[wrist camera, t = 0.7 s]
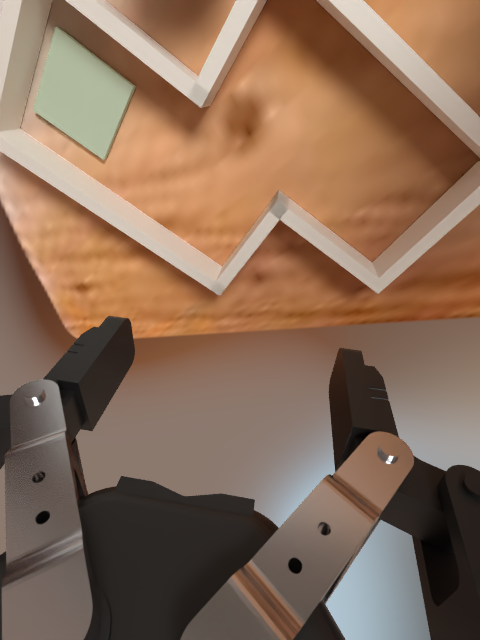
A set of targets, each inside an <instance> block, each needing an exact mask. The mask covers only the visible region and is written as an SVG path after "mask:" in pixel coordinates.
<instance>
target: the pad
mask: <svg viewBox="0 0 480 640" xmlns="http://www.w3.org/2000/svg"><path fill="white" fill-rule="evenodd" d="M135 88H136V86H135V85H133V84H132V83H131V82H129V81H128V80H127V79H126V78H124V77H123V76H122V75H120V74H119V73H118V72H117V71H115V70H114V69H113V68H111V67H110V66H109V65H107V64H106V63H105V62H104V61H102V60H101V59H100V58H98V57H97V56H96V55H95V54H93V53H92V52H91V51H89V50H88V49H87V48H85V47H84V46H83V45H82V44H80V43H79V42H78V41H76V40H75V39H74V38H73V37H71V36H70V35H69V34H67V33H66V32H65V31H63V30H62V29H61V28H60V27H55V30H54V34H53V37H52V41H51V45H50V49H49V52H48V56H47V60H46V64H45V67H44V71H43V75H42V79H41V82H40V86H39V90H38V94H37V97H36V101H35V105H34V109H33V111H34V112H36V113H37V114H39V115H40V116H41V117H43V118H44V119H46V120H47V121H49V122H50V123H51V124H53V125H54V126H56V127H57V128H59V129H60V130H61V131H63V132H64V133H66V134H67V135H68V136H70V137H71V138H73V139H74V140H76V141H77V142H78V143H80V144H81V145H83V146H84V147H86V148H87V149H88V150H90V151H91V152H93V153H94V154H96V155H97V156H98V157H100V158H101V159H103V160H105V159H107V156H108V154H109V151H110V149H111V147H112V144H113V142H114V139H115V137H116V134H117V132H118V130H119V127H120V125H121V122H122V120H123V117H124V115H125V113H126V110H127V108H128V105H129V103H130V100H131V98H132V96H133V93H134V91H135Z"/></svg>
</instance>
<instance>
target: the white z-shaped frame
mask: <svg viewBox="0 0 480 640" xmlns="http://www.w3.org/2000/svg"><path fill="white" fill-rule="evenodd" d="M66 1H67V2H68V3H69V4H71V5H72V6H73V7H74V8H76V9H77V10H78V11H79V12H81V13H82V14H83V15H84V16H86V17H87V18H88V19H89V20H91V21H92V22H93V23H94V24H96V25H97V26H98V27H99V28H101V29H102V30H103V31H105V32H106V33H107V34H108V35H110V36H111V37H112V38H113V39H115V40H116V41H117V42H118V43H120V44H121V45H122V46H123V47H125V48H126V49H127V50H128V51H130V52H131V53H132V54H133V55H135V56H136V57H137V58H139V59H140V60H141V61H142V62H144V63H145V64H146V65H147V66H149V67H150V68H151V69H152V70H154V71H155V72H156V73H157V74H159V75H160V76H161V77H162V78H164V79H165V80H166V81H167V82H169V83H170V84H171V85H173V86H174V87H175V88H176V89H178V90H179V91H180V92H181V93H183V94H184V95H185V96H186V97H188V98H189V99H190V100H191V101H193V102H194V103H195V104H196V105H198V106H199V107H200V108H203V107H207V106H210V105H211V103H212V101H213V100H214V98H215V96H216V94H217V92H218V90H219V88H220V87H221V85H222V83H223V81H224V79H225V77H226V75H227V74H228V72H229V70H230V68H231V66H232V64H233V62H234V61H235V59H236V57H237V55H238V53H239V51H240V50H241V48H242V46H243V44H244V42H245V40H246V38H247V37H248V35H249V33H250V31H251V29H252V27H253V25H254V24H255V22H256V20H257V18H258V16H259V14H260V12H261V11H262V9H263V7H264V5H265V3H266V1H267V0H236V2H235V4H234V6H233V8H232V10H231V12H230V14H229V16H228V18H227V20H226V22H225V24H224V26H223V28H222V30H221V32H220V34H219V36H218V38H217V40H216V42H215V44H214V46H213V48H212V50H211V52H210V54H209V56H208V58H207V60H206V62H205V64H204V66H203V68H202V70H201V72H200V74H199V76H198V75H196V74H195V73H194V72H193V71H191V70H190V69H189V68H188V67H187V66H185V65H184V64H183V63H182V62H180V61H179V60H178V59H177V58H176V57H174V56H173V55H172V54H171V53H169V52H168V51H167V50H166V49H165V48H163V47H162V46H161V45H160V44H158V43H157V42H156V41H155V40H153V39H152V38H151V37H150V36H149V35H147V34H146V33H145V32H144V31H142V30H141V29H140V28H139V27H138V26H136V25H135V24H134V23H133V22H131V21H130V20H129V19H128V18H127V17H125V16H124V15H123V14H122V13H120V12H119V11H118V10H117V9H116V8H114V7H113V6H112V5H111V4H109V3H108V2H107V1H106V0H66ZM316 1H317V2H318V3H319V4H320V5H321V6H322V7H323V8H324V9H325V10H326V11H327V12H328V13H329V14H330V15H332V16H333V17H334V18H335V19H336V20H337V21H338V22H339V23H340V24H341V25H342V26H343V27H344V28H345V29H346V30H347V31H348V32H349V33H350V34H351V35H352V36H353V37H354V38H355V39H356V40H358V41H359V42H360V43H361V44H362V45H363V46H364V47H365V48H366V49H367V50H368V51H369V52H370V53H371V54H372V55H373V56H374V57H375V58H376V59H377V60H378V61H379V62H380V63H381V64H382V65H384V66H385V67H386V68H387V69H388V70H389V71H390V72H391V73H392V74H393V75H394V76H395V77H396V78H397V79H398V80H399V81H400V82H401V83H402V84H403V85H404V86H405V87H406V88H407V89H408V90H409V91H411V92H412V93H413V94H414V95H415V96H416V97H417V98H418V99H419V100H420V101H421V102H422V103H423V104H424V105H425V106H426V107H427V108H428V109H429V110H430V111H431V112H432V113H433V114H434V115H435V116H437V117H438V118H439V119H440V120H441V121H442V122H443V123H444V124H445V125H446V126H447V127H448V128H449V129H450V130H451V131H452V132H453V133H454V134H455V135H456V136H457V137H458V138H459V139H460V140H461V141H463V142H464V143H465V144H466V145H467V146H468V147H469V148H470V149H471V150H472V151H473V152H474V153H475V154H476V155H477V156H478V157H479V158H480V117H479V116H478V115H477V114H476V113H475V112H474V111H473V110H472V109H471V108H470V107H469V106H468V105H467V104H466V103H465V102H464V101H463V100H462V99H461V98H460V97H459V96H458V95H457V94H456V93H455V92H454V91H453V90H452V89H451V88H450V87H449V86H448V85H447V84H446V83H445V82H444V81H443V80H442V79H441V78H440V77H439V76H438V75H437V74H436V73H435V72H434V71H433V70H432V69H431V68H430V67H429V66H428V65H427V64H426V63H425V62H424V61H423V60H422V59H421V58H420V57H419V56H418V55H417V54H416V53H415V52H414V51H413V50H412V49H411V48H410V47H409V46H408V45H407V44H406V43H405V42H404V41H403V40H402V38H401V37H400V36H399V35H398V34H397V33H396V32H395V31H394V30H393V29H392V28H391V27H390V26H389V25H388V24H387V23H386V22H385V21H384V20H383V19H382V18H381V17H380V16H379V15H378V14H377V13H376V12H375V11H374V10H373V9H372V8H371V7H370V6H369V5H368V4H367V3H366V2H365V1H364V0H316ZM51 4H52V0H3V4H2V9H1V14H0V151H1V152H2V153H4V154H5V155H7V156H8V157H10V158H11V159H13V160H14V161H16V162H17V163H19V164H20V165H22V166H23V167H25V168H26V169H28V170H29V171H31V172H32V173H34V174H35V175H37V176H38V177H40V178H42V179H43V180H45V181H46V182H48V183H49V184H51V185H52V186H54V187H55V188H57V189H58V190H60V191H61V192H63V193H64V194H66V195H67V196H69V197H70V198H72V199H73V200H75V201H76V202H78V203H79V204H81V205H82V206H84V207H85V208H87V209H89V210H90V211H92V212H93V213H95V214H96V215H98V216H99V217H101V218H102V219H104V220H105V221H107V222H108V223H110V224H111V225H113V226H114V227H116V228H117V229H119V230H120V231H122V232H123V233H125V234H126V235H128V236H129V237H131V238H132V239H134V240H136V241H137V242H139V243H140V244H142V245H143V246H145V247H146V248H148V249H149V250H151V251H152V252H154V253H155V254H157V255H158V256H160V257H161V258H163V259H164V260H166V261H167V262H169V263H170V264H172V265H173V266H175V267H176V268H178V269H179V270H181V271H183V272H184V273H186V274H187V275H189V276H190V277H192V278H193V279H195V280H196V281H198V282H199V283H201V284H202V285H204V286H205V287H207V288H208V289H210V290H211V291H213V292H214V293H216V294H217V295H219V296H220V295H221V294H222V292H223V291H224V290H225V289H226V287H227V286H228V285H229V283H230V282H231V281H232V280H233V278H234V277H235V276H236V275H237V273H238V272H239V271H240V269H241V268H242V267H243V266H244V264H245V263H246V262H247V261H248V259H249V258H250V257H251V255H252V254H253V253H254V252H255V250H256V249H257V248H258V247H259V245H260V244H261V243H262V241H263V240H264V239H265V238H266V236H267V235H268V234H269V233H270V231H271V230H272V229H273V228H274V226H275V225H276V224H277V222H278V221H279V220H281V221H282V222H283V223H285V224H286V225H287V226H289V227H290V228H291V229H293V230H294V231H295V232H297V233H298V234H299V235H301V236H302V237H303V238H305V239H306V240H307V241H309V242H310V243H311V244H313V245H314V246H315V247H317V248H318V249H319V250H321V251H322V252H323V253H325V254H326V255H327V256H329V257H330V258H331V259H333V260H334V261H335V262H337V263H338V264H339V265H340V266H342V267H343V268H344V269H346V270H347V271H348V272H350V273H351V274H352V275H354V276H355V277H356V278H358V279H359V280H360V281H362V282H363V283H364V284H366V285H367V286H368V287H370V288H371V289H372V290H374V291H375V292H376V293H378V294H379V293H380V292H381V291H382V290H383V289H384V288H386V287H387V286H388V285H389V284H390V283H391V282H392V281H393V280H395V279H396V278H397V277H398V276H399V275H400V274H401V273H402V272H404V271H405V270H406V269H407V268H408V267H409V266H410V265H412V264H413V263H414V262H415V261H416V260H417V259H418V258H419V257H421V256H422V255H423V254H424V253H425V252H426V251H427V250H429V249H430V248H431V247H432V246H433V245H434V244H435V243H436V242H438V241H439V240H440V239H441V238H442V237H443V236H444V235H445V234H447V233H448V232H449V231H450V230H451V229H452V228H453V227H455V226H456V225H457V224H458V223H459V222H460V221H461V220H462V219H464V218H465V217H466V216H467V215H468V214H469V213H470V212H472V211H473V210H474V209H475V208H476V207H477V206H478V205H479V204H480V160H479V161H478V162H477V163H476V164H475V165H474V166H473V167H472V168H471V169H470V170H468V171H467V172H466V173H465V174H464V175H463V176H462V177H461V178H460V179H459V180H458V181H457V182H456V183H455V184H454V185H453V186H452V187H451V188H450V189H449V190H448V191H446V192H445V193H444V194H443V195H442V196H441V197H440V198H439V199H438V200H437V201H436V202H435V203H434V204H433V205H432V206H431V207H430V208H429V209H428V210H427V211H426V212H425V213H423V214H422V215H421V216H420V217H419V218H418V219H417V220H416V221H415V222H414V223H413V224H412V225H411V226H410V227H409V228H408V229H407V230H406V231H405V232H404V233H403V234H402V235H400V236H399V237H398V238H397V239H396V240H395V241H394V242H393V243H392V244H391V245H390V246H389V247H388V248H387V249H386V250H385V251H384V252H383V253H382V254H381V255H380V256H378V257H377V258H376V259H375V260H374V261H373V262H371V261H370V260H368V259H367V258H366V257H364V256H363V255H362V254H361V253H359V252H358V251H357V250H355V249H354V248H353V247H352V246H350V245H349V244H348V243H346V242H345V241H344V240H343V239H341V238H340V237H339V236H337V235H336V234H335V233H334V232H332V231H331V230H330V229H328V228H327V227H326V226H325V225H323V224H322V223H321V222H319V221H318V220H317V219H316V218H314V217H313V216H312V215H310V214H309V213H308V212H307V211H305V210H304V209H303V208H301V207H300V206H299V205H298V204H296V203H295V202H294V201H292V200H291V199H290V198H289V197H287V196H286V195H285V194H283V193H282V192H281V191H280V190H279V191H278V192H277V193H276V195H275V196H274V198H273V199H272V200H271V202H270V203H269V204H268V206H267V207H266V208H265V210H264V211H263V212H262V214H261V215H260V216H259V218H258V219H257V220H256V222H255V223H254V224H253V226H252V227H251V228H250V230H249V231H248V232H247V234H246V235H245V236H244V238H243V239H242V241H241V242H240V243H239V245H238V246H237V247H236V249H235V250H234V251H233V253H232V254H231V255H230V257H229V258H228V259H227V261H226V262H225V263H224V265H223V266H221V265H219V264H218V263H216V262H215V261H213V260H212V259H210V258H209V257H208V256H206V255H205V254H203V253H202V252H200V251H199V250H197V249H196V248H194V247H193V246H191V245H190V244H188V243H187V242H186V241H184V240H183V239H181V238H180V237H178V236H177V235H175V234H174V233H172V232H171V231H169V230H168V229H167V228H165V227H164V226H162V225H161V224H159V223H158V222H156V221H155V220H153V219H152V218H150V217H149V216H148V215H146V214H145V213H143V212H142V211H140V210H139V209H137V208H136V207H134V206H133V205H131V204H130V203H129V202H127V201H126V200H124V199H123V198H121V197H120V196H118V195H117V194H115V193H114V192H112V191H111V190H110V189H108V188H107V187H105V186H104V185H102V184H101V183H99V182H98V181H96V180H95V179H93V178H92V177H91V176H89V175H88V174H86V173H85V172H83V171H82V170H80V169H79V168H77V167H76V166H74V165H73V164H72V163H70V162H69V161H67V160H66V159H64V158H63V157H61V156H60V155H58V154H57V153H55V152H54V151H52V150H51V149H50V148H48V147H47V146H45V145H44V144H42V143H41V142H39V141H38V140H36V139H35V138H33V137H32V136H31V135H29V134H28V133H26V132H25V131H23V130H22V129H20V127H21V123H22V119H23V115H24V111H25V107H26V103H27V99H28V95H29V91H30V87H31V83H32V79H33V75H34V72H35V68H36V64H37V60H38V56H39V52H40V48H41V44H42V40H43V36H44V32H45V28H46V24H47V20H48V16H49V12H50V8H51Z"/></svg>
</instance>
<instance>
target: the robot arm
mask: <svg viewBox="0 0 480 640" xmlns="http://www.w3.org/2000/svg"><path fill="white" fill-rule="evenodd" d="M134 355H135V347H134V341H133V334H132V327H131V322H130V320H129V319H128V318H121V317H114V316H108V317H107V318H106V319H105V320H104V322H103V323H102V324H101V325H100V326H99V328H98V327H93V328H91V329H89V330H88V331H86V332H85V333H83V334H81V336H80V337H79V338H78V339H77V340H76V341H75V343H74V345H72V346H71V347H70V348H69V350H68V352H67V353H65V354H64V355H63V357H62V358H61V359H60V360H59V361H58V362H57V364H56V365H55V366H54V367H53V368H52V369H51V371H50V372H49V373H48V374H47V375H46V376H45V378H44V379H43V380H35V381H32V382H29V383H26V384H24V385H23V386H21V387H20V388H18V389H17V390H16V391H15V392H14V393H13V394H12V395H3V396H0V469H1V468H2V466H3V465H4V463H5V509H6V511H5V512H6V552H4V553H3V554H1V555H0V640H345V638H344V636H343V635H342V633H341V631H340V629H339V628H338V626H337V624H336V623H335V621H334V619H333V617H332V616H331V614H330V612H329V610H328V608H327V607H326V605H325V604H326V602H327V601H328V599H329V598H330V596H331V595H332V593H333V592H334V590H335V589H336V587H337V586H338V584H339V582H340V581H341V579H342V578H343V576H344V575H345V573H346V572H347V570H348V568H349V567H350V565H351V564H352V562H353V561H354V559H355V558H356V556H357V555H358V553H359V552H360V550H361V549H362V547H363V546H364V544H365V543H366V541H367V540H368V538H369V537H370V535H371V534H372V532H373V531H374V529H375V528H376V526H377V525H378V523H379V522H380V520H383V521H385V522H387V523H389V524H391V525H393V526H395V527H397V528H399V529H401V530H403V531H404V532H406V533H409V534H410V535H412V538H413V543H414V549H415V554H416V559H417V565H418V570H419V576H420V581H421V587H422V593H423V598H424V603H425V609H426V615H427V621H428V626H429V632H430V637H431V640H480V471H478V470H476V469H474V468H472V467H469V466H465V465H455V466H452V467H450V468H449V469H448V470H447V471H444V470H442V469H439V468H437V467H434V466H432V465H430V464H428V463H425V462H423V461H421V460H419V459H418V458H416V457H415V456H413V453H412V451H411V449H410V448H409V446H408V445H407V444H406V443H405V442H404V441H403V440H401V439H400V438H399V436H398V432H397V429H396V425H395V421H394V418H393V414H392V410H391V406H390V403H389V401H388V395H387V392H386V388H385V384H384V380H383V377H382V376H381V375H380V373H379V372H378V371H377V370H376V368H375V367H373V366H366V365H364V360H363V355H362V352H361V351H359V350H351V349H344V348H340V349H339V351H338V354H337V357H336V361H335V364H334V368H333V372H332V375H331V378H330V384H329V401H330V412H331V425H332V437H333V449H334V462H335V473H334V474H333V475H332V476H331V475H327V476H326V477H325V478H324V479H323V480H322V481H321V482H320V483H319V484H318V485H317V486H316V488H315V489H314V490H313V491H312V492H311V493H310V494H309V496H308V497H307V498H306V499H305V500H304V501H303V502H302V504H300V505H299V507H298V508H297V509H296V510H295V511H294V512H293V513H292V514H291V516H290V517H289V518H288V519H287V520H286V521H285V522H284V524H282V526H281V527H280V528H278V527H277V526H276V525H275V524H274V523H273V522H272V521H271V520H269V519H268V518H267V517H265V516H264V515H262V514H261V513H259V512H257V511H255V510H254V502H255V500H253V499H248V498H243V497H237V496H231V495H226V494H213V495H200V496H182V495H180V494H178V493H176V492H173V491H171V490H169V489H167V488H165V487H163V486H161V485H159V484H156V483H155V482H152V481H146V480H141V479H135V478H129V477H124V476H121V478H120V480H119V482H118V484H117V486H116V487H111V488H105V489H102V490H99V491H96V492H93V493H91V494H89V495H88V491H87V488H86V484H85V479H84V474H83V469H82V465H81V459H80V454H79V450H78V445H77V440H76V438H75V437H76V435H77V434H78V432H79V430H80V429H83V430H89V431H93V429H94V427H95V426H96V424H97V422H98V420H99V419H100V417H101V415H102V414H103V412H104V410H105V409H106V407H107V405H108V404H109V402H110V400H111V398H112V397H113V395H114V393H115V392H116V390H117V389H118V387H119V385H120V383H121V382H122V380H123V378H124V377H125V375H126V373H127V372H128V370H129V368H130V367H131V365H132V362H133V360H134Z"/></svg>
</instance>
